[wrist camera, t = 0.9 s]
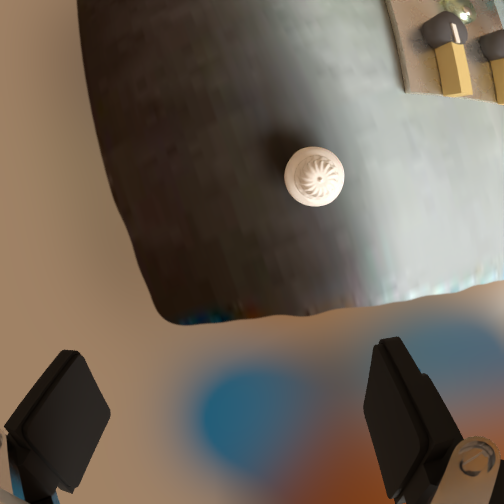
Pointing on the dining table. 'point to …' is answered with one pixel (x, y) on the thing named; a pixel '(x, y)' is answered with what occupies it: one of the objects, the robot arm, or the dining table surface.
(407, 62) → the base plate
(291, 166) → the white carved ornament
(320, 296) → the dining table surface
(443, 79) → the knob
